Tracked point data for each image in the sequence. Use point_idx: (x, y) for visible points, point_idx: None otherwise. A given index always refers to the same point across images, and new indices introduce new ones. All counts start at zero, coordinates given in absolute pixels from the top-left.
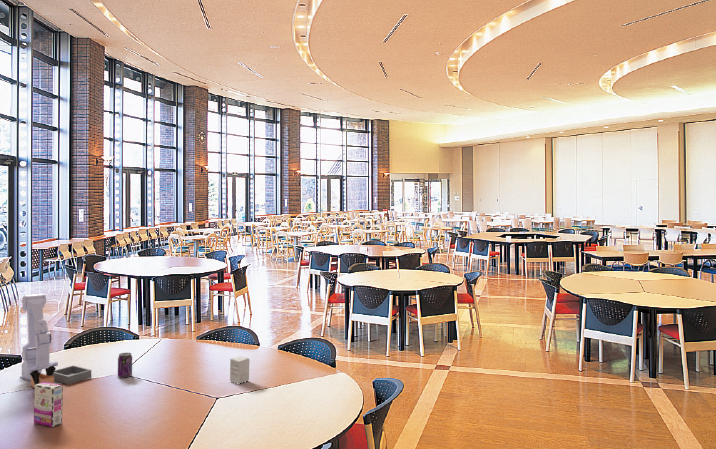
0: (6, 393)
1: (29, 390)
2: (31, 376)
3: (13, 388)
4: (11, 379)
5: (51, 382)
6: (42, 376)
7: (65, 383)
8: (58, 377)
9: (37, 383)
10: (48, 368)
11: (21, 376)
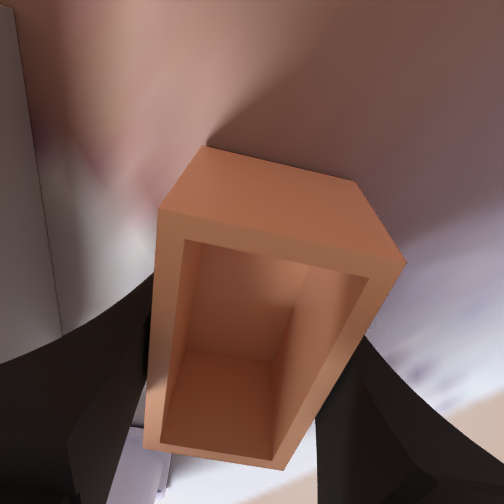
0: (482, 398)
1: (388, 304)
2: (285, 465)
3: None
4: (209, 499)
5: (233, 178)
6: (170, 398)
7: (23, 88)
8: (12, 271)
9: None
10: (84, 499)
11: (157, 494)
